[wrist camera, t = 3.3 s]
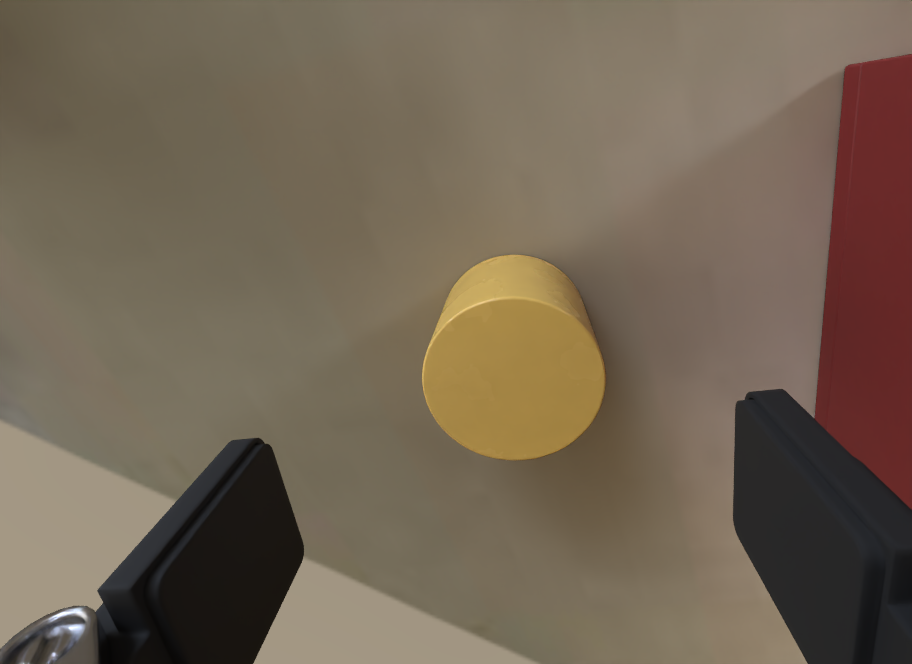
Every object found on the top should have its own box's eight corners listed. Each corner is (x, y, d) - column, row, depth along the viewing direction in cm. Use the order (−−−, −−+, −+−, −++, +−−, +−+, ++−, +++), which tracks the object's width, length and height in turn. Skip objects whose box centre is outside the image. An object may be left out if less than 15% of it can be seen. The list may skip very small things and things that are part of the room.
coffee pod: (579, 244, 17) (600, 285, 13) (590, 379, 19) (611, 454, 14) (432, 264, 18) (405, 309, 13) (455, 392, 19) (438, 467, 15)
